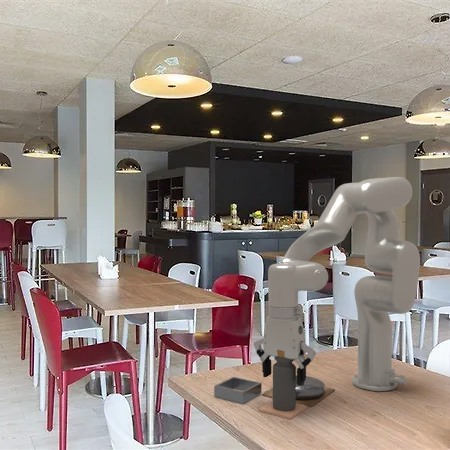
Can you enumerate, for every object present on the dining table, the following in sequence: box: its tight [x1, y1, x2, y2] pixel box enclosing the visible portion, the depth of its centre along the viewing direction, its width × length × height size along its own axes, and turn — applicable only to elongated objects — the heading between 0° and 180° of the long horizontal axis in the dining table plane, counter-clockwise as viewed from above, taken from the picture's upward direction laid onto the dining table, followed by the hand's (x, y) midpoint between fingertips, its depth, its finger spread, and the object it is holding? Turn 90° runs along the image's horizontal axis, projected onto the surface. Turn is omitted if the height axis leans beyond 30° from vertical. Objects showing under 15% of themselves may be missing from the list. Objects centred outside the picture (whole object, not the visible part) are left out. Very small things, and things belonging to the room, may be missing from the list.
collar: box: [213, 376, 263, 405], centre depth 139 cm, size 9×9×3 cm
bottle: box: [272, 350, 297, 411], centre depth 128 cm, size 6×6×15 cm
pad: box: [258, 399, 308, 420], centre depth 129 cm, size 9×9×1 cm
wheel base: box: [261, 386, 336, 408], centre depth 140 cm, size 15×15×1 cm
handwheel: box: [296, 374, 325, 400], centre depth 140 cm, size 14×14×8 cm
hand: (283, 379), depth 129 cm, fingers open, 9 cm apart
